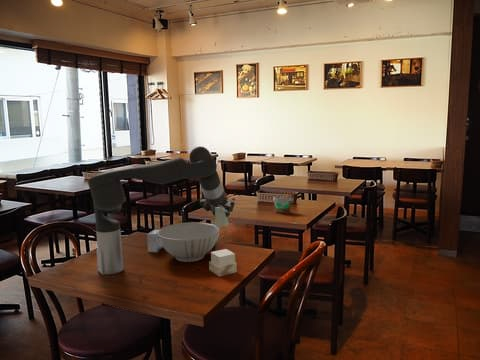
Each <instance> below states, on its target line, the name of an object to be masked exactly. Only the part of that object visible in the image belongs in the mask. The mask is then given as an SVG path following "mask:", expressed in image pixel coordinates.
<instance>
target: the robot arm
mask: <svg viewBox="0 0 480 360" xmlns="http://www.w3.org/2000/svg"><path fill="white" fill-rule="evenodd" d="M188 156H189V161H190V162H189V161H186V160H185V159H184V158H183V157H175V158H171V159H167V160H164V161H160V162H157V163H152V164H151V163H150V164H145V165H138V166H133V167H132V166H131V167H127V168H126V167H125V168H120V169H115V170H108V171H105V172H100V173H98V174H95V175H93V176H91V177H90V178H89V179H88V180H87V183H88V184H87V185H88V187H89V190H90V191H89V192H90V194H91V197H92V201H93V202H92V203H93V209H94V216H95V231H96V233H95V234H96V244H97V245H96V246H97V248H96V260H97V272H99V274H101V275H102V276H103V275H105V276H106V275H115V274H118V273H120V272H123V270H124V262H123V260H124V259H123V249H122V248H123V247H122V233H121V231H122V230H121V223H120V221H119V220H117V219H112V218H109V217H107V216H105V214H111V213H119V212H120V211H121V209H122V206H123V204H124V203H125V201H126V193H125V190H124V188H123V184H122V180H124V179H136V180H140V181H145V182H149V183H153V184H158V185H164V184H166V185H167V184H171V183H173V182H177V181H179V180H184V179H189V180H190V179H198V182H199V184H200V188H201V192H202V194H203V196H204V197H200V200H199V205H200V206H201V207H202V208H203V209H204V210H205V211H206V212H209V211H210V213H212V215H213V216H214V217H215V207H220V208H221V209H222V210H224V211H225V214H226V217H228V218H229V217H230V215H231V214H230V213H232V212H233V210H234V207H235V205H236V204H235V203H236V199H235V198H232V199H229V198H228V197H227V195H226V191H225V188H224V185H223V183H222V180H221V179H220V178H221V177H220V175H219V173H218V170H217V169H218V166H217V162H216V160H215V158H214V157H213V155H212V154H211V152H210V151H209V150H208V149H207V148H206V147H204V146H196V147H194V148H193V149H192V150H191V151H190V153H189V155H188Z"/></svg>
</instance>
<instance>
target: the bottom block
mask: <svg viewBox="0 0 480 360" xmlns="http://www.w3.org/2000/svg"><path fill="white" fill-rule="evenodd" d="M208 264H209V265H208V268H209V271H210V272H211V273H213V274H215V275H216V276H218V277H219V278H220V277H223V276H227V275H231V274H235V273H237V272H238V266H237V265H238V264H237V262H235V264H231V265H226V266H222V267H219V266H217V265H216V264H214V263H212V262H211V260H210V261H208Z"/></svg>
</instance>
